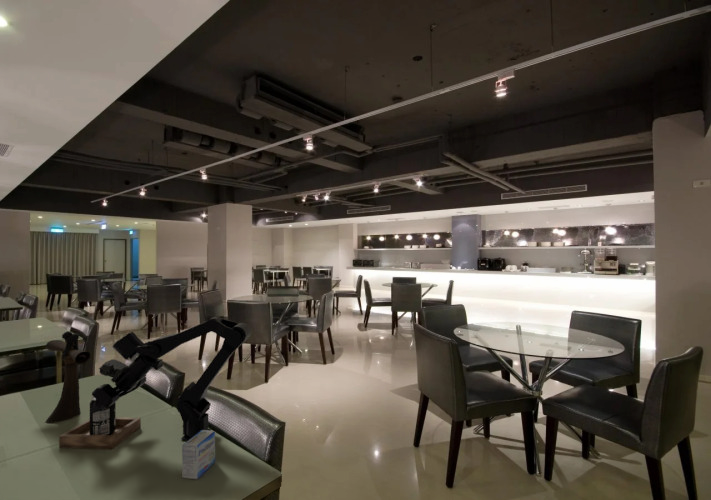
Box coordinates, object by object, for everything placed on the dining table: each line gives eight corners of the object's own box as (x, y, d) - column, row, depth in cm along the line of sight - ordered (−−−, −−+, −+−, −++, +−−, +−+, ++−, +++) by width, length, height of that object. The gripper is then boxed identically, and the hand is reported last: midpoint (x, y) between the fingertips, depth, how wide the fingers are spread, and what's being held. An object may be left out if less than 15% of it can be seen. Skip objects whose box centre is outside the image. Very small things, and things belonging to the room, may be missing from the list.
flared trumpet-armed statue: (96, 424, 118) (96, 335, 119) (60, 436, 110) (61, 340, 111) (65, 401, 136) (66, 324, 137) (33, 410, 129) (33, 329, 129)
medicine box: (197, 480, 88) (197, 446, 88) (181, 478, 89) (181, 444, 89) (215, 462, 96) (215, 430, 96) (201, 460, 97) (201, 429, 97)
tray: (140, 428, 115) (140, 417, 115) (111, 449, 102) (111, 437, 102) (93, 427, 116) (93, 416, 116) (59, 447, 104) (59, 435, 104)
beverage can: (105, 427, 113) (105, 390, 114) (120, 431, 111) (120, 393, 111) (84, 438, 107) (84, 398, 107) (99, 441, 105) (99, 401, 105)
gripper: (136, 344, 119) (103, 377, 119) (98, 360, 100) (59, 400, 100) (160, 366, 119) (127, 400, 119) (126, 387, 101) (87, 427, 100)
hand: (102, 405), depth 109 cm, fingers open, 9 cm apart
